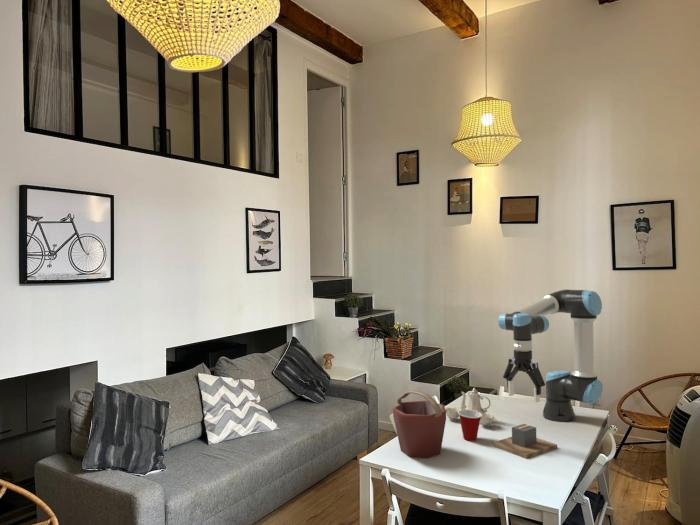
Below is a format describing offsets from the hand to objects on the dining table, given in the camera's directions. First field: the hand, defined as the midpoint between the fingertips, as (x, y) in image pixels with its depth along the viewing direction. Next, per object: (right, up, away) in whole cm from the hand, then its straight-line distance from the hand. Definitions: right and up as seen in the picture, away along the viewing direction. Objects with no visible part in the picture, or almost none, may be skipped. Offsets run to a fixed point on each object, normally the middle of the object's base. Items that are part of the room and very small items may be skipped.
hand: (523, 398), depth 231 cm
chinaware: (-14, -21, +37) cm, 44 cm away
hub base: (0, -21, 0) cm, 21 cm away
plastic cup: (-20, -21, +12) cm, 32 cm away
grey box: (0, -19, 0) cm, 19 cm away
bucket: (-44, -22, -1) cm, 49 cm away
